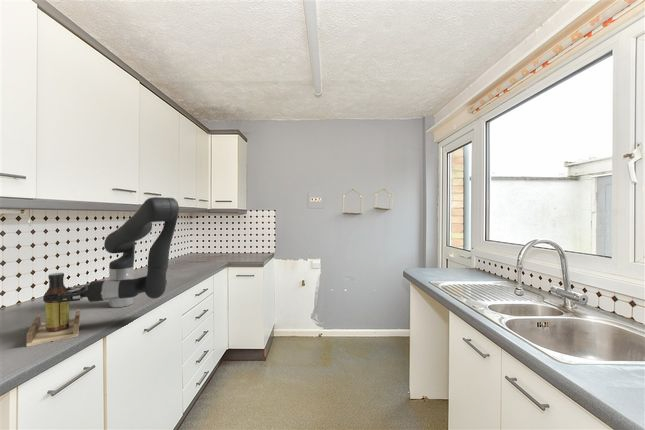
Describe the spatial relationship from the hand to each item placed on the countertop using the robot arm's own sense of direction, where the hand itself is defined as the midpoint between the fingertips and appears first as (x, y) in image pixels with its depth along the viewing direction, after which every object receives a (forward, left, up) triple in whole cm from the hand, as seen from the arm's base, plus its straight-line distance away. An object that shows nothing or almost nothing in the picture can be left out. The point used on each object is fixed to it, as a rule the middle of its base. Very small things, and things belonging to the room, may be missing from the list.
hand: (49, 295), depth 100 cm
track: (-1, +2, -13) cm, 14 cm away
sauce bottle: (0, +2, -13) cm, 13 cm away
